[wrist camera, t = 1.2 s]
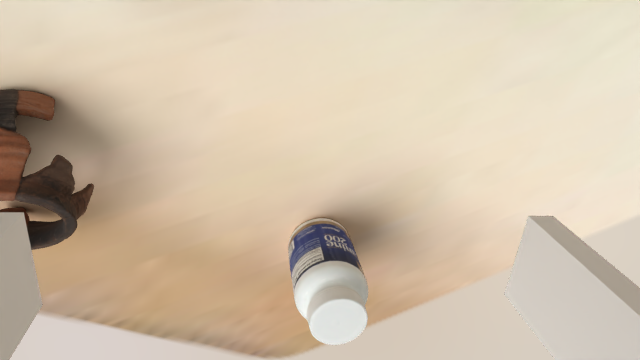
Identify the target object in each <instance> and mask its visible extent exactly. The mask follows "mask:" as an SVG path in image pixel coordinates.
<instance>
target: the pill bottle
mask: <svg viewBox="0 0 640 360" xmlns="http://www.w3.org/2000/svg"><path fill="white" fill-rule="evenodd" d="M288 254H289V262H290V270H291V277H292V284H293V291H294V299H295V303H296V306H297V309H298V310H299V312H300V313H301V315H302V316H303V317H304V318H306V319H307V321H308V324H309V328H310V331H311V333H312V335H313V336H314V337H315V338H316V339H317V340H318V341H320V342H322V343H325V344H329V345H339V344H344V343H347V342H350V341H352V340H354V339H355V338H357V337H358V336H359V335H360V334H361V333H362V332H363V330H364V329H365V327H366V325H367V319H368V317H367V312H366V308H365V304H366V301H367V297H368V285H367V282H366V279H365V276H364V273H363V271H362V268H361V265H360V262H359V260H358V257H357V255H356V252H355V250H354V247H353V244H352V242H351V239H350V237H349V235H348V233H347V231H346V229H345V228H344V227H343V226H342V225H341V224H339V223H338V222H336V221H333V220H331V219H326V218H318V219H312V220H309V221H307V222H305V223H303V224H301V225H300V226H299V227H298V228H296V230H295V231H294V232H293V233H292V235H291V237H290V240H289V244H288Z"/></svg>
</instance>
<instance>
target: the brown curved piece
mask: <svg viewBox="0 0 640 360" xmlns="http://www.w3.org/2000/svg"><path fill="white" fill-rule="evenodd" d="M54 104H55V100H54V99H53V98H52V97H49V96H46V95H44V94H41V93H36V92H32V91H24V90H0V201H14V200H17V201H21V202H26V203H31V204H36V205H39V206H42V207H45V208H47V209H49V210H51V211H53V212H55V213H57V214H58V215H59V216H60V217H62V219H61V220H58V221H55V222H41V221H38V222H37V221H29V216H28V215H27V213H26V210H25V209H24V208H21V207H18V208H6V209H2V210H0V212H24V216H25V221H26V226H27V231H28V236H29V241H30V246H31V250H33V249H39V248H45V247H48V246H52V245H55V244H58V243H60V242H62V241H63V240H64V239H67V238H68V237H70V236H71V235H72V234H73V232H74V231H75V230H76V228H77V219H78V218H79V217H80V216H82V215H83V214H84V212H85V211H86V209H87V205H88V203H89V200H90V197H91V195H92V192H93V187H94V185H93V184H88V185H87V186H86V187H85V188H84V189H83V190H81V191H79V192H77V193H74V194H72V193H73V191H74V188H75V187H74V185H75V181H74V178H73V175H72V165H71V163H70V162H69V161H68V160H66V159H65V158H64V157H63V156H61V155H56V156H55V157H54V159H53V161H52V163H51V165H50V166H47V167H45V168H43V169H42V170H40V171H38V172H36V173H34V174H30V175H28V176H25V177H23V171H24V167H25V164H26V161H27V158H28V156H29V154H30V152H31V147H30V144H29V141H28V140H27V138H26V137H24V136H22V135H20V134H18V133H16V124H15V118H16V117H17V115H23V116H31V117H36V118H40V119H44V120H47V121H48V120H52V118H53V116H54V109H53V108H54Z"/></svg>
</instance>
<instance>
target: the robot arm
mask: <svg viewBox="0 0 640 360" xmlns="http://www.w3.org/2000/svg"><path fill="white" fill-rule="evenodd" d="M505 296H506V297H507V298H508V300H509V301H510V302H511V303H512V305H513V306H514V308H515V309H516V310H517V311H518V313H519V314H520V315H521V317H522V318H523V319H524V320H525V322H526V323H527V324H528V326H529V327H530V328H531V329H532V331H533V332H534V333H535V335H536V336H537V337H538V339H539V340H540V341H541V342H542V343H543V345H544V346H545V347H546V349H547V350H548V351H549V353H550V354H551V355H552V357H553V358H554V359H555V360H640V288H639V287H638V286H637V285H636V284H634V283H633V282H632V281H631V280H629V279H628V278H627V277H626V276H625V275H623V274H622V273H621V272H620V271H619V270H617V269H616V268H615V267H614V266H613V265H611V264H610V263H609V262H607V260H605V259H604V258H603V257H602V256H601V255H599V254H598V253H597V252H596V251H595V250H593V249H592V248H591V247H590V246H588V245H587V244H586V243H585V242H584V241H582V240H581V239H580V238H579V237H578V236H576V235H575V234H574V233H573V232H572V231H570V230H569V229H568V228H567V227H566V226H564V225H563V224H562V223H561V222H559V221H558V220H557V219H556V218H555V217H553V216H528V219H527V222H526V225H525V229H524V232H523V235H522V238H521V242H520V245H519V248H518V251H517V255H516V258H515V261H514V264H513V268H512V271H511V274H510V278H509V281H508V284H507V288H506V290H505ZM42 305H43V304H42V299H41V295H40V290H39V285H38V280H37V275H36V270H35V265H34V260H33V255H32V251H31V246H30V241H29V236H28V231H27V226H26V221H25V216H24V212H0V360H9V359H10V358H11V356H12V354H13V353H14V351H15V349H16V348H17V346H18V344H19V343H20V341H21V340H22V338H23V336H24V335H25V333H26V331H27V330H28V328H29V326H30V325H31V323H32V321H33V320H34V318H35V317H36V315H37V313H38V312H39V310H40V308H41V307H42Z"/></svg>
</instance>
